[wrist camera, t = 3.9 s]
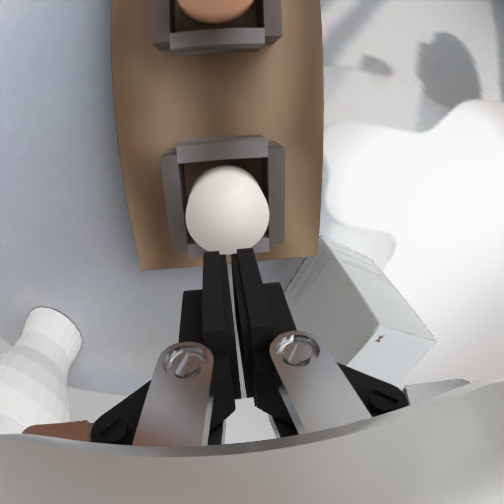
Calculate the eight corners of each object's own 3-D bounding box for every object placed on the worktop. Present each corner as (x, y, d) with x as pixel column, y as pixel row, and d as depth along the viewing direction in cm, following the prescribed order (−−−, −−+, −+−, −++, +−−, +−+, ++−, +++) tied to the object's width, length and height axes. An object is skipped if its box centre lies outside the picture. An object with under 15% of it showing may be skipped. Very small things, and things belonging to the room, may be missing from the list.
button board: (289, -121, 9) (308, -156, 3) (304, 234, 28) (329, 275, 22) (139, -114, 8) (126, -150, 2) (149, 247, 26) (133, 292, 20)
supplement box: (281, 293, 31) (314, 395, 20) (320, 232, 28) (382, 322, 17) (336, 312, 33) (380, 402, 22) (374, 259, 30) (440, 341, 19)
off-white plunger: (260, 162, 18) (268, 174, 15) (261, 229, 20) (269, 251, 17) (186, 167, 17) (180, 180, 15) (193, 234, 19) (190, 257, 17)
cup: (109, 355, 32) (83, 464, 19) (52, 366, 33) (21, 456, 20) (59, 286, 27) (0, 398, 14) (5, 307, 28) (-48, 398, 14)
